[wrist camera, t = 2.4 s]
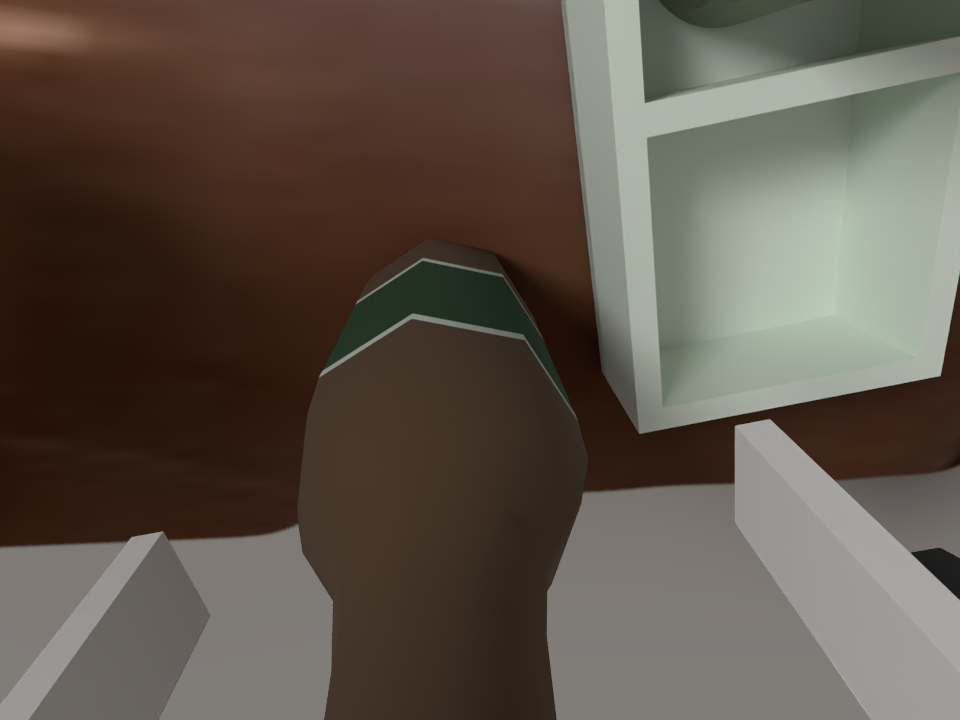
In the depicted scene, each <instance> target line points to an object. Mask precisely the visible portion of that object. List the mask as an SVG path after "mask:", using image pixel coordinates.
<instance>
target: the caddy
mask: <svg viewBox="0 0 960 720" xmlns="http://www.w3.org/2000/svg"><path fill="white" fill-rule="evenodd" d="M561 5H562V14H563V23H564V32H565V42H566V51H567V60H568V69H569V78H570V87H571V96H572V105H573V114H574V123H575V132H576V142H577V151H578V160H579V169H580V178H581V187H582V196H583V205H584V214H585V223H586V232H587V242H588V251H589V260H590V269H591V278H592V287H593V296H594V305H595V314H596V323H597V332H598V342H599V351H600V360H601V369H602V373H603V375H604V376H605V378H606V380H607V381H608V383H609V385H610V386H611V388H612V390H613V391H614V393H615V395H616V396H617V398H618V399H619V401H620V403H621V404H622V406H623V408H624V409H625V411H626V413H627V414H628V416H629V418H630V419H631V421H632V423H633V424H634V426H635V428H636V429H637V431H638V433H639V434H642V433H647V432H652V431H657V430H662V429H668V428H673V427H678V426H683V425H688V424H694V423H699V422H704V421H709V420H714V419H719V418H725V417H730V416H735V415H740V414H745V413H751V412H756V411H761V410H766V409H771V408H777V407H782V406H787V405H792V404H797V403H802V402H808V401H813V400H818V399H823V398H828V397H834V396H839V395H844V394H849V393H854V392H860V391H865V390H870V389H875V388H880V387H886V386H891V385H896V384H901V383H906V382H911V381H917V380H922V379H927V378H932V377H937V376H941V371H942V365H943V360H944V354H945V349H946V344H947V338H948V333H949V327H950V322H951V316H952V311H953V306H954V300H955V295H956V289H957V284H958V279H959V273H960V0H811V1H808V2H805V3H802V4H798V5H795V6H792V7H789V8H786V9H783V10H780V11H777V12H774V13H771V14H768V15H765V16H762V17H759V18H756V19H752V20H749V21H746V22H743V23H740V24H737V25H733V26H730V27H723V28H704V27H698V26H695V25H692V24H689V23H686V22H684V21H683V20H681V19H679V18H677V17H676V16H675V15H673V14H672V13H671V12H669V11H668V10H667V9H666V8H665V7H664V6H663V4H662V3H661V2H660V1H659V0H561Z"/></svg>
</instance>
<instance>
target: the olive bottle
mask: <svg viewBox="0 0 960 720" xmlns="http://www.w3.org/2000/svg"><path fill="white" fill-rule="evenodd" d="M659 1H660V2H661V3H662V4H663V6H664V7H665V8H666V9H667V10H668V11H669V12H671V13H672V14H673V15H675V16H676V17H677V18H679V19H681V20H683V21H684V22H686V23H689V24H692V25H695V26H698V27H704V28H723V27H730V26H733V25H737V24H740V23H743V22H746V21H749V20H752V19H756V18H759V17H762V16H765V15H768V14H771V13H774V12H777V11H780V10H783V9H786V8H789V7H792V6H795V5H798V4H802V3H805V2H808V1H811V0H659Z"/></svg>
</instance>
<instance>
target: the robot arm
mask: <svg viewBox="0 0 960 720" xmlns="http://www.w3.org/2000/svg"><path fill="white" fill-rule="evenodd" d="M735 524H736V525H737V527H738V528H739V529H740V531H741V532H742V534H743V535H744V537H745V538H746V540H747V541H748V542H749V544H750V545H751V547H752V548H753V550H754V551H755V552H756V554H757V555H758V557H759V558H760V560H761V561H762V563H763V564H764V566H765V567H766V568H767V570H768V571H769V573H770V574H771V576H772V577H773V579H774V580H775V581H776V583H777V584H778V586H779V587H780V589H781V590H782V592H783V593H784V594H785V596H786V597H787V599H788V600H789V602H790V603H791V605H792V606H793V607H794V609H795V610H796V612H797V613H798V615H799V616H800V618H801V619H802V621H803V622H804V623H805V625H806V626H807V628H808V629H809V631H810V632H811V633H812V635H813V636H814V638H815V639H816V641H817V642H818V644H819V645H820V647H821V648H822V649H823V651H824V652H825V654H826V655H827V657H828V658H829V660H830V661H831V662H832V664H833V665H834V667H835V668H836V670H837V671H838V673H839V674H840V675H841V677H842V678H843V680H844V681H845V683H846V684H847V686H848V687H849V689H850V690H851V691H852V693H853V694H854V696H855V697H856V699H857V700H858V702H859V703H860V704H861V706H862V707H863V709H864V710H865V712H866V713H867V715H868V716H869V717H870V719H871V720H960V558H958V557H956V556H955V555H953V554H951V553H949V552H947V551H945V550H943V549H941V548H935V549H929V550H923V551H918V552H912V553H910V552H909V551H908V550H907V549H906V548H904V547H903V546H902V545H901V544H900V543H899V542H898V541H897V540H896V539H895V538H894V537H893V536H892V535H891V534H890V533H889V532H888V531H887V530H886V529H885V528H884V527H882V526H881V525H880V524H879V523H878V522H877V521H876V520H875V519H874V518H873V517H872V516H871V515H870V514H869V513H868V512H867V511H866V510H865V509H864V508H863V507H861V506H860V505H859V504H858V503H857V502H856V501H855V500H854V499H853V498H852V497H851V496H850V495H849V494H848V493H847V492H846V491H845V490H844V489H843V488H841V486H839V485H838V484H837V483H836V482H835V481H834V480H833V479H832V478H831V477H830V476H829V475H828V474H827V473H826V472H825V471H824V470H823V469H822V468H821V467H820V466H818V465H817V464H816V463H815V462H814V461H813V460H812V459H811V458H810V457H809V456H808V455H807V454H806V453H805V452H804V451H803V450H802V449H801V448H800V447H799V446H798V445H796V444H795V443H794V442H793V441H792V440H791V439H790V438H789V437H788V436H787V435H786V434H785V433H784V432H783V431H782V430H781V429H780V428H779V427H778V426H777V425H776V424H774V423H773V422H772V421H771V420H770V419H769V420H763V421H758V422H752V423H747V424H742V425H736V426H735ZM209 617H210V614H209V612H208V610H207V608H206V607H205V605H204V603H203V601H202V600H201V598H200V596H199V594H198V592H197V591H196V589H195V587H194V585H193V584H192V582H191V580H190V578H189V576H188V575H187V573H186V571H185V569H184V568H183V566H182V564H181V562H180V560H179V559H178V557H177V555H176V553H175V552H174V550H173V548H172V546H171V545H170V543H169V541H168V539H167V537H166V536H165V534H164V532H163V531H162V532H157V533H151V534H146V535H141V536H135V537H131V538H130V540H129V541H128V542H127V543H126V545H125V546H124V547H123V549H122V550H121V551H120V552H119V554H118V555H117V556H116V557H115V559H114V560H113V561H112V563H111V564H110V565H109V567H108V568H107V569H106V570H105V572H104V573H103V574H102V575H101V577H100V578H99V579H98V581H97V582H96V583H95V584H94V586H93V587H92V588H91V590H90V591H89V592H88V594H87V595H86V596H85V597H84V598H83V600H82V601H81V602H80V604H79V605H78V606H77V607H76V609H75V610H74V611H73V613H72V614H71V615H70V616H69V618H68V619H67V620H66V621H65V623H64V624H63V625H62V627H61V628H60V629H59V630H58V632H57V633H56V634H55V636H54V637H53V638H52V639H51V641H50V642H49V643H48V645H47V646H46V647H45V648H44V650H43V651H42V652H41V653H40V655H39V656H38V657H37V659H36V660H35V661H34V663H33V664H32V665H31V666H30V668H29V669H28V670H27V671H26V673H25V674H24V675H23V677H22V678H21V679H20V680H19V682H18V683H17V684H16V686H15V687H14V688H13V689H12V691H11V692H10V693H9V694H8V696H7V697H6V698H5V700H4V701H3V702H2V703H1V705H0V720H159V718H160V716H161V714H162V712H163V710H164V708H165V706H166V704H167V701H168V700H169V697H170V696H171V694H172V691H173V690H174V688H175V685H176V684H177V682H178V680H179V678H180V676H181V674H182V672H183V669H184V668H185V666H186V664H187V661H188V659H189V657H190V655H191V653H192V651H193V649H194V647H195V645H196V643H197V641H198V639H199V637H200V635H201V633H202V631H203V629H204V627H205V625H206V623H207V621H208V619H209Z"/></svg>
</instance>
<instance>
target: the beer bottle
mask: <svg viewBox="0 0 960 720" xmlns="http://www.w3.org/2000/svg"><path fill="white" fill-rule="evenodd" d="M588 461H589V459H588V456H587V452H586V448H585V445H584V441H583V437H582V434H581V430H580V426H579V422H578V420H577V418H576V415H575V413H574V411H573V408H572V406H571V403H570V401H569V399H568V396H567V394H566V392H565V389H564V387H563V385H562V382H561V380H560V378H559V375H558V373H557V371H556V368H555V366H554V364H553V361H552V359H551V357H550V354H549V352H548V350H547V347H546V345H545V342H544V340H543V338H542V335H541V333H540V331H539V328H538V326H537V324H536V321H535V319H534V317H533V315H532V313H531V312H530V310H529V309H528V307H527V305H526V304H525V302H524V301H523V299H522V297H521V296H520V294H519V293H518V291H517V289H516V288H515V286H514V285H513V283H512V282H511V280H510V278H509V277H508V275H507V274H506V272H505V270H504V269H503V267H502V266H501V264H500V263H499V261H498V259H497V258H496V256H495V255H494V253H493V252H492V251H487V250H482V249H478V248H473V247H468V246H463V245H459V244H454V243H449V242H444V241H440V240H435V239H430V238H427V239H425V240H424V241H422V242H421V243H419V244H418V245H416V246H415V247H413V248H412V249H410V250H409V251H407V252H406V253H404V254H403V255H401V256H400V257H398V258H397V259H395V260H394V261H392V262H391V263H389V264H388V265H386V266H385V267H383V268H382V269H380V270H379V271H377V272H376V273H374V274H373V275H372V277H371V278H370V279H369V280H368V282H367V283H366V285H365V287H364V289H363V291H362V293H361V295H360V297H359V299H358V301H357V303H356V305H355V307H354V309H353V311H352V313H351V315H350V317H349V319H348V321H347V323H346V325H345V327H344V329H343V331H342V333H341V335H340V337H339V339H338V341H337V343H336V345H335V347H334V349H333V351H332V353H331V355H330V357H329V359H328V360H327V362H326V364H325V366H324V368H323V370H322V372H321V374H320V376H319V379H318V382H317V385H316V388H315V392H314V395H313V398H312V401H311V404H310V407H309V411H308V414H307V421H306V430H305V440H304V449H303V458H302V467H301V477H300V486H299V495H298V504H297V517H298V524H299V531H300V537H301V544H302V551H303V554H304V556H305V557H306V559H307V560H308V562H309V563H310V565H311V566H312V568H313V570H314V571H315V573H316V574H317V576H318V578H319V579H320V581H321V582H322V584H323V586H324V587H325V589H326V590H327V592H328V594H329V595H330V597H331V598H332V600H333V632H332V670H331V678H330V685H329V691H328V698H327V705H326V712H325V718H324V720H556V711H555V704H554V694H553V687H552V679H551V669H550V661H549V652H548V644H547V591H548V589H549V587H550V586H551V584H552V581H553V579H554V576H555V573H556V570H557V568H558V565H559V562H560V559H561V557H562V554H563V552H564V549H565V546H566V543H567V541H568V538H569V535H570V533H571V530H572V527H573V524H574V522H575V519H576V516H577V513H578V511H579V508H580V505H581V501H582V495H583V489H584V484H585V478H586V472H587V467H588Z"/></svg>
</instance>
